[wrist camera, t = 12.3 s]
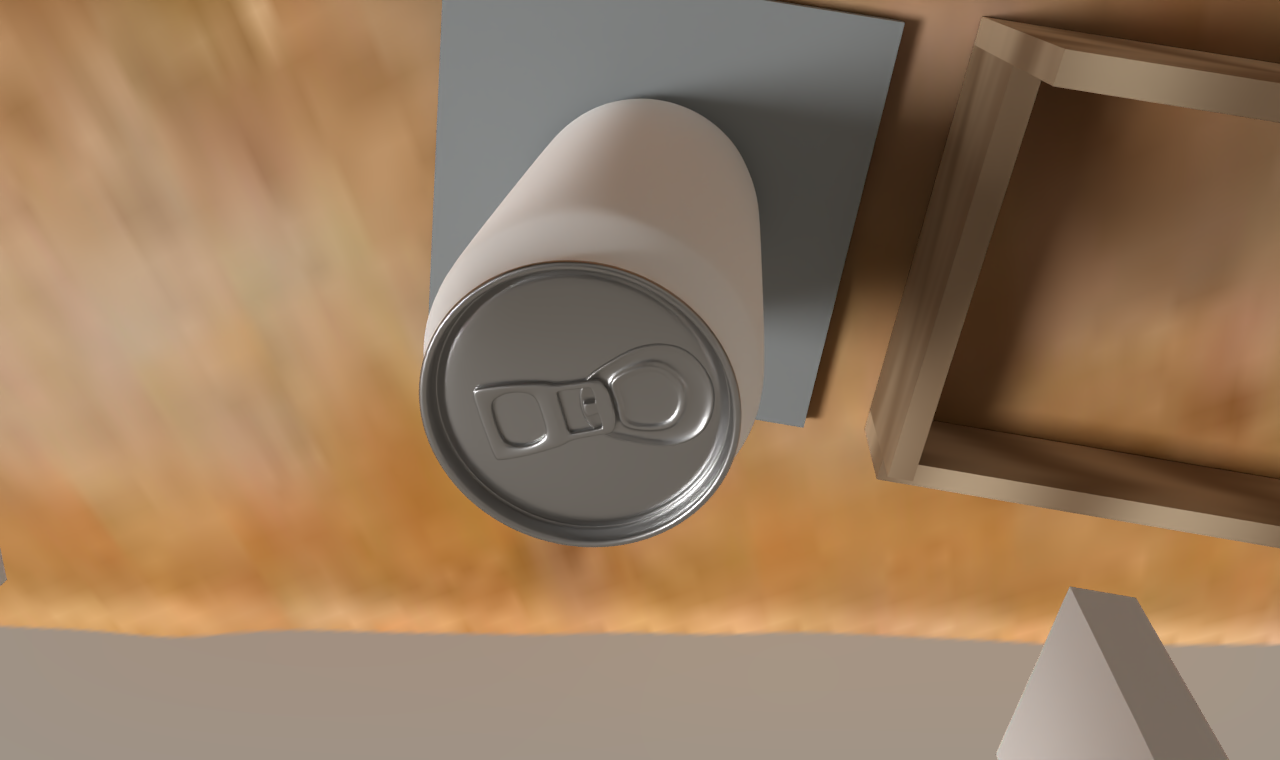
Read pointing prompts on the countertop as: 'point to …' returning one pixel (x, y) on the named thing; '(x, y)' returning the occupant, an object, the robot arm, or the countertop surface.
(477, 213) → the mat
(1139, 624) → the robot arm
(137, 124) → the countertop surface
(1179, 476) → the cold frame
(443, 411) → the can
